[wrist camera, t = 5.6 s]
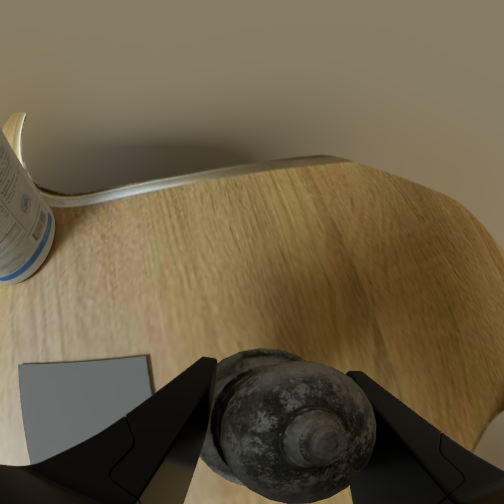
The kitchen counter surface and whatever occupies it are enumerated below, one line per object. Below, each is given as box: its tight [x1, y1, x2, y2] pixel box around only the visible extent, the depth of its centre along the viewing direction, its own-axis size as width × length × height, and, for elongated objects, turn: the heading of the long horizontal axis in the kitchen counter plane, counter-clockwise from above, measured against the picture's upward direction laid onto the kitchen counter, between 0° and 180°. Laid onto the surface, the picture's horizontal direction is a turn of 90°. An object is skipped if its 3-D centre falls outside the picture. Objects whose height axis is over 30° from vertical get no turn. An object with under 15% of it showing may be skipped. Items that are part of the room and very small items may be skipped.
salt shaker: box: [200, 348, 376, 504], centre depth 8 cm, size 6×6×12 cm
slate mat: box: [18, 356, 153, 465], centre depth 16 cm, size 12×12×1 cm
